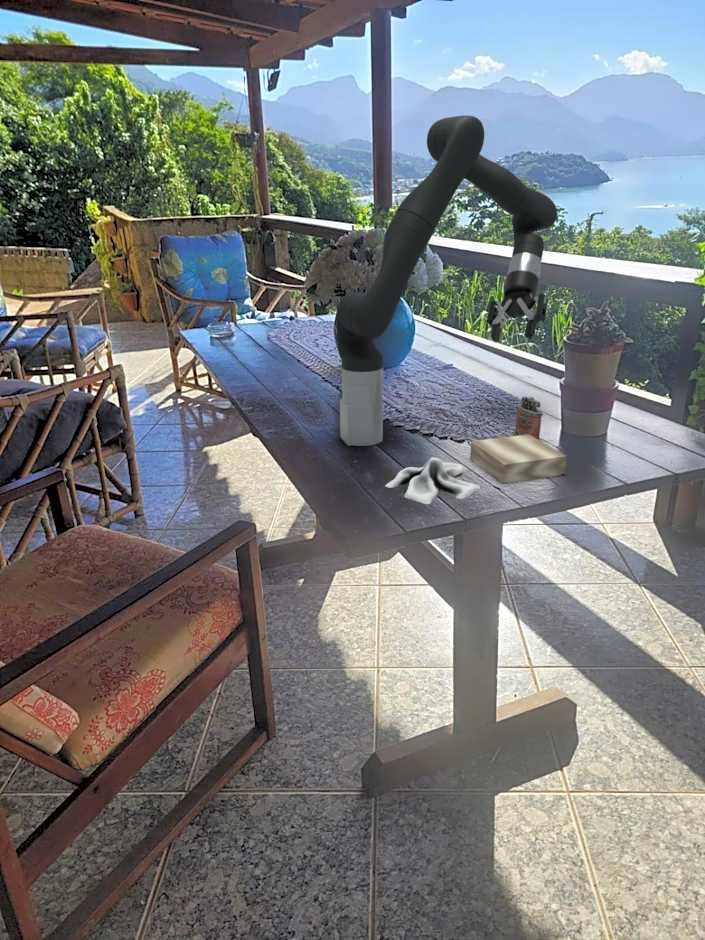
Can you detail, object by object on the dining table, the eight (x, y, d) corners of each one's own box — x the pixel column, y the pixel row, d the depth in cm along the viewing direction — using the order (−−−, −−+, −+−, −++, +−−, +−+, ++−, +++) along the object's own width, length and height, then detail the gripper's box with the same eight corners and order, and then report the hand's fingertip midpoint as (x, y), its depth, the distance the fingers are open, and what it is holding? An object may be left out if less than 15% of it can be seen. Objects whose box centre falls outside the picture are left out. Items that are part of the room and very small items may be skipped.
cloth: (455, 462, 143) (456, 435, 140) (500, 496, 126) (502, 466, 124) (357, 476, 136) (357, 448, 134) (391, 514, 120) (392, 482, 118)
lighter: (510, 435, 157) (514, 394, 153) (522, 433, 158) (526, 392, 154) (530, 446, 150) (534, 403, 146) (543, 444, 151) (547, 401, 147)
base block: (502, 483, 130) (504, 464, 129) (470, 458, 143) (471, 441, 141) (564, 474, 134) (566, 456, 133) (527, 451, 147) (529, 434, 145)
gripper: (489, 274, 162) (477, 335, 158) (544, 264, 152) (532, 329, 149) (503, 288, 167) (492, 348, 164) (557, 280, 158) (546, 343, 154)
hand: (511, 339), depth 156 cm, fingers open, 8 cm apart
